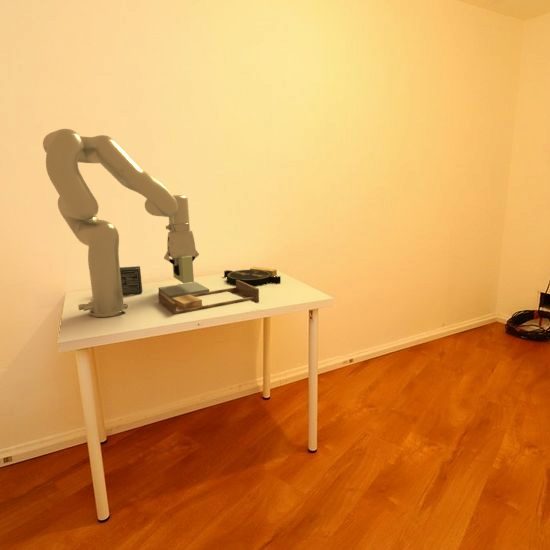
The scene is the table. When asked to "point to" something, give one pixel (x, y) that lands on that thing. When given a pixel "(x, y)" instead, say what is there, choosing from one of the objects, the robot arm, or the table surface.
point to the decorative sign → (253, 276)
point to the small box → (131, 280)
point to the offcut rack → (240, 288)
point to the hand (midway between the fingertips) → (183, 273)
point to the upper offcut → (187, 301)
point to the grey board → (183, 289)
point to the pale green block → (185, 269)
